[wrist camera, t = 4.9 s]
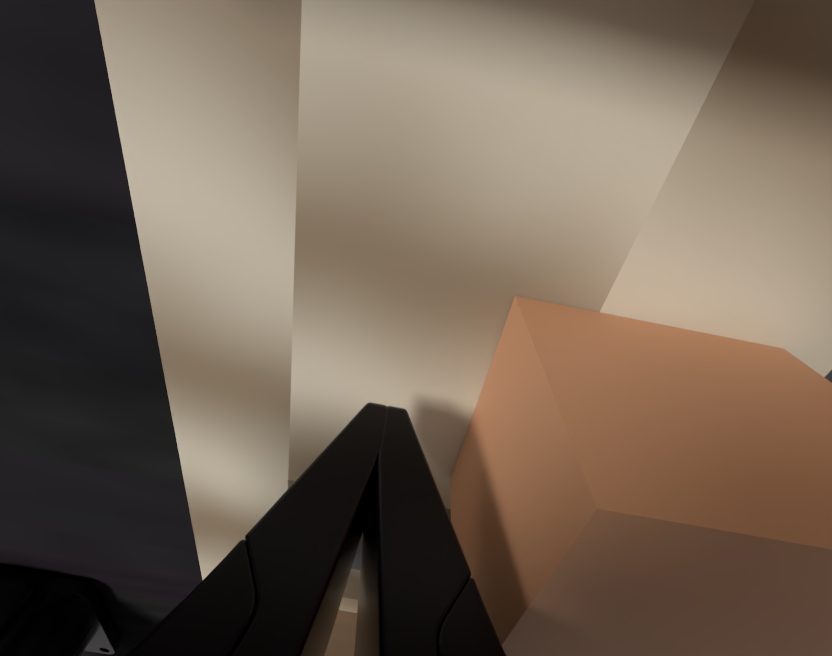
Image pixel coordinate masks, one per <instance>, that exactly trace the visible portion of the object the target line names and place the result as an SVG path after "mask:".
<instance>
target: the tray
mask: <svg viewBox="0 0 832 656" xmlns="http://www.w3.org/2000/svg"><path fill="white" fill-rule="evenodd" d="M94 1H95V6H96V11H97V17H98V22H99V27H100V33H101V38H102V43H103V49H104V54H105V60H106V65H107V70H108V76H109V81H110V86H111V92H112V97H113V102H114V108H115V113H116V119H117V124H118V129H119V135H120V140H121V145H122V151H123V156H124V161H125V167H126V172H127V177H128V183H129V188H130V194H131V199H132V204H133V210H134V215H135V220H136V226H137V231H138V236H139V242H140V247H141V253H142V258H143V263H144V269H145V274H146V279H147V285H148V290H149V295H150V301H151V306H152V312H153V317H154V322H155V328H156V333H157V338H158V344H159V349H160V354H161V360H162V365H163V371H164V376H165V381H166V387H167V392H168V397H169V403H170V408H171V413H172V419H173V424H174V430H175V435H176V440H177V446H178V451H179V456H180V462H181V467H182V472H183V478H184V483H185V488H186V494H187V499H188V505H189V510H190V515H191V521H192V526H193V531H194V537H195V542H196V547H197V553H198V558H199V564H200V569H201V574H202V580H204V579H205V578H206V577H207V576H208V575H209V573H210V572H211V571H212V570H213V569H214V568H215V567H216V566H217V565H218V564H219V563H220V562H221V561H222V560H223V559H224V558H225V557H226V556H227V554H228V553H229V552H230V551H231V550H232V549H233V548H234V547H235V546H236V545H237V544H238V543H239V541H240V540H245V536H246V534H247V533H248V532H249V531H250V530H251V529H252V528H253V527H254V525H255V524H256V523H257V522H258V521H259V520H260V519H261V518H262V517H263V516H264V515H265V513H266V512H267V511H268V510H269V509H270V508H271V507H272V506H273V505H274V504H275V503H276V501H277V500H278V499H279V498H280V497H281V496H282V495H283V494H284V493H285V492H286V491H287V489H288V488H289V487H290V486H291V485H292V484H293V483H294V482H295V481H296V480H297V479H298V478H299V476H300V475H301V474H302V473H303V472H304V471H305V470H306V469H307V468H308V467H309V466H310V464H311V463H312V462H313V461H314V460H315V459H316V458H317V457H318V456H319V455H320V454H321V452H322V451H323V450H324V449H325V448H326V447H327V446H328V445H329V444H330V443H331V442H332V441H333V439H334V438H335V437H336V436H337V435H338V434H339V433H340V432H341V431H342V430H343V429H344V427H345V426H346V425H347V424H348V423H349V422H350V421H351V420H352V419H353V418H354V417H355V415H356V414H357V413H358V412H359V411H360V410H361V409H362V408H363V407H364V406H365V405H366V404H367V403H369V402H372V403H377V404H382V405H386V406H393V407H399V408H404V409H406V410H407V412H408V414H409V417H410V419H411V422H412V424H413V427H414V429H415V432H416V434H417V437H418V439H419V442H420V444H421V447H422V449H423V452H424V455H425V457H426V460H427V462H428V465H429V467H430V470H431V472H432V475H433V477H434V480H435V482H436V485H437V487H438V490H439V492H440V495H441V497H442V500H443V502H444V505H445V507H446V510H447V512H448V515H449V518H450V520H451V503H450V478H451V475H452V472H453V470H454V467H455V464H456V461H457V458H458V455H459V453H460V450H461V447H462V444H463V441H464V438H465V436H466V433H467V430H468V427H469V424H470V421H471V419H472V416H473V413H474V410H475V407H476V404H477V402H478V399H479V396H480V393H481V390H482V388H483V385H484V382H485V379H486V376H487V373H488V371H489V368H490V365H491V362H492V359H493V356H494V354H495V351H496V348H497V345H498V342H499V339H500V337H501V334H502V331H503V328H504V325H505V322H506V320H507V317H508V314H509V311H510V308H511V306H512V303H513V300H514V297H515V296H519V297H524V298H529V299H534V300H539V301H545V302H550V303H555V304H560V305H565V306H570V307H575V308H580V309H585V310H590V311H595V312H600V313H606V314H611V315H616V316H621V317H626V318H631V319H636V320H641V321H646V322H651V323H656V324H662V325H667V326H672V327H677V328H682V329H687V330H692V331H697V332H702V333H707V334H712V335H718V336H723V337H728V338H733V339H738V340H743V341H748V342H753V343H758V344H763V345H768V346H773V347H779V348H784V349H785V350H786V351H788V352H789V353H791V354H792V355H793V356H795V357H796V358H798V359H799V360H800V361H802V362H803V363H805V364H806V365H808V366H809V367H810V368H812V369H813V370H815V371H816V372H817V373H819V374H820V375H822V376H823V377H824V378H826V379H827V380H829V381H830V382H831V383H832V0H94ZM362 540H363V533H362V536H361V540H360V543H359V546H358V549H357V552H356V556H355V559H354V562H353V565H352V568H351V572H350V575H349V578H348V581H347V585H346V588H345V591H344V594H343V597H342V601H341V604H340V607H339V610H338V613H337V617H336V620H335V623H334V626H333V630H332V633H331V636H330V639H329V642H328V646H327V649H326V652H325V655H324V656H354V650H355V636H356V622H357V609H358V595H359V581H360V567H361V554H362Z"/></svg>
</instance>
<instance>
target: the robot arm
mask: <svg viewBox="0 0 832 656" xmlns="http://www.w3.org/2000/svg"><path fill="white" fill-rule="evenodd" d="M362 533H363V540H362V554H361V567H360V581H359V595H358V609H357V622H356V636H355V650H354V656H507V655H506V653H505V651H504V649H503V647H502V645H501V643H500V640H499V638H498V635H497V633H496V631H495V628H494V626H493V624H492V621H491V619H490V617H489V614H488V612H487V610H486V607H485V605H484V603H483V600H482V598H481V595H480V592H479V590H478V587H477V585H476V582H475V580H474V579H473V578H470V577H471V570H470V568H469V565H468V563H467V560H466V558H465V555H464V553H463V550H462V548H461V545H460V543H459V540H458V538H457V535H456V533H455V530H454V528H453V525H452V523H451V520H450V518H449V515H448V512H447V510H446V507H445V505H444V502H443V500H442V497H441V495H440V492H439V490H438V487H437V485H436V482H435V480H434V477H433V475H432V472H431V470H430V467H429V465H428V462H427V460H426V457H425V455H424V452H423V449H422V447H421V444H420V442H419V439H418V437H417V434H416V432H415V429H414V427H413V424H412V422H411V419H410V417H409V414H408V412H407V410H406V409H404V408H399V407H393V406H386V405H382V404H377V403H372V402H369V403H367V404H366V405H365V406H364V407H363V408H362V409H361V410H360V411H359V412H358V413H357V414H356V415H355V417H354V418H353V419H352V420H351V421H350V422H349V423H348V424H347V425H346V426H345V427H344V429H343V430H342V431H341V432H340V433H339V434H338V435H337V436H336V437H335V438H334V439H333V441H332V442H331V443H330V444H329V445H328V446H327V447H326V448H325V449H324V450H323V451H322V452H321V454H320V455H319V456H318V457H317V458H316V459H315V460H314V461H313V462H312V463H311V464H310V466H309V467H308V468H307V469H306V470H305V471H304V472H303V473H302V474H301V475H300V476H299V478H298V479H297V480H296V481H295V482H294V483H293V484H292V485H291V486H290V487H289V488H288V489H287V491H286V492H285V493H284V494H283V495H282V496H281V497H280V498H279V499H278V500H277V501H276V503H275V504H274V505H273V506H272V507H271V508H270V509H269V510H268V511H267V512H266V513H265V515H264V516H263V517H262V518H261V519H260V520H259V521H258V522H257V523H256V524H255V525H254V527H253V528H252V529H251V530H250V531H249V532H248V533H247V534H246V536H245V540H240V541H239V543H238V544H237V545H236V546H235V547H234V548H233V549H232V550H231V551H230V552H229V553H228V554H227V556H226V557H225V558H224V559H223V560H222V561H221V562H220V563H219V564H218V565H217V566H216V567H215V568H214V569H213V570H212V571H211V572H210V573H209V575H208V576H207V577H206V578H205V579H204V580H203V581H202V582H201V583H200V584H199V585H198V586H197V587H196V588H195V589H194V590H193V591H192V592H191V593H190V594H189V595H188V596H187V597H186V598H185V599H184V600H183V601H182V602H181V603H180V604H179V605H178V606H177V607H176V608H175V609H174V610H172V611H171V612H170V613H169V614H168V615H167V616H166V617H165V618H164V619H163V620H162V621H161V622H160V623H159V624H158V625H157V626H156V627H154V628H153V629H152V630H151V631H150V632H149V633H148V634H147V635H146V636H145V637H144V638H143V639H142V640H141V641H140V642H138V643H137V644H136V645H135V646H134V647H133V648H132V649H131V650H130V651H129V652H127V653H126V654H125V655H124V656H324V655H325V652H326V649H327V646H328V642H329V639H330V636H331V633H332V630H333V626H334V623H335V620H336V617H337V613H338V610H339V607H340V604H341V601H342V597H343V594H344V591H345V588H346V585H347V581H348V578H349V575H350V572H351V568H352V565H353V562H354V559H355V556H356V552H357V549H358V546H359V543H360V540H361V536H362ZM119 645H120V640H119V638H118V636H117V634H116V632H115V630H114V628H113V626H112V624H111V622H110V619H109V617H108V615H107V613H106V611H105V609H104V607H103V605H102V603H101V601H100V599H99V596H98V594H97V592H96V590H95V588H94V587H93V586H91V585H90V584H88V583H86V582H82V581H77V580H71V579H65V578H59V577H53V576H47V575H41V574H35V573H29V572H23V571H17V570H11V569H5V568H0V656H81V654H82V653H83V651H90V652H96V653H102V654H114V653H115V652H116V650H117V648H118V647H119Z"/></svg>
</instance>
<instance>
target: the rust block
mask: <svg viewBox="0 0 832 656" xmlns="http://www.w3.org/2000/svg"><path fill="white" fill-rule="evenodd" d="M450 503H451V523H452V525H453V528H454V530H455V533H456V535H457V538H458V540H459V543H460V545H461V548H462V550H463V553H464V555H465V558H466V560H467V563H468V565H469V568H470V570H471V577H470V578H473V579H474V580H475V582H476V585H477V587H478V590H479V592H480V595H481V598H482V600H483V603H484V605H485V607H486V610H487V612H488V614H489V617H490V619H491V621H492V624H493V626H494V628H495V631H496V633H497V635H498V638H499V640H500V643H501V645H502V647H503V649H504V651H505V653H506V655H507V656H832V383H831V382H830V381H829V380H827V379H826V378H824V377H823V376H822V375H820V374H819V373H817V372H816V371H815V370H813V369H812V368H810V367H809V366H808V365H806V364H805V363H803V362H802V361H800V360H799V359H798V358H796V357H795V356H793V355H792V354H791V353H789V352H788V351H786V350H785V349H784V348H779V347H773V346H768V345H763V344H758V343H753V342H748V341H743V340H738V339H733V338H728V337H723V336H718V335H712V334H707V333H702V332H697V331H692V330H687V329H682V328H677V327H672V326H667V325H662V324H656V323H651V322H646V321H641V320H636V319H631V318H626V317H621V316H616V315H611V314H606V313H600V312H595V311H590V310H585V309H580V308H575V307H570V306H565V305H560V304H555V303H550V302H545V301H539V300H534V299H529V298H524V297H519V296H515V297H514V300H513V303H512V306H511V308H510V311H509V314H508V317H507V320H506V322H505V325H504V328H503V331H502V334H501V337H500V339H499V342H498V345H497V348H496V351H495V354H494V356H493V359H492V362H491V365H490V368H489V371H488V373H487V376H486V379H485V382H484V385H483V388H482V390H481V393H480V396H479V399H478V402H477V404H476V407H475V410H474V413H473V416H472V419H471V421H470V424H469V427H468V430H467V433H466V436H465V438H464V441H463V444H462V447H461V450H460V453H459V455H458V458H457V461H456V464H455V467H454V470H453V472H452V475H451V478H450Z"/></svg>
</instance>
